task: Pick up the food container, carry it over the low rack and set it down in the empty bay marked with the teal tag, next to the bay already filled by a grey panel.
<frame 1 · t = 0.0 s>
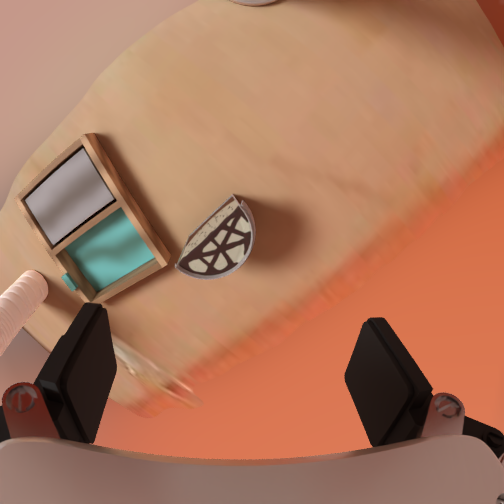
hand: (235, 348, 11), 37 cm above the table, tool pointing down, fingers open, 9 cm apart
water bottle: (34, 287, 49), on the table
rack: (91, 222, 46), on the table
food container: (224, 228, 48), on the table
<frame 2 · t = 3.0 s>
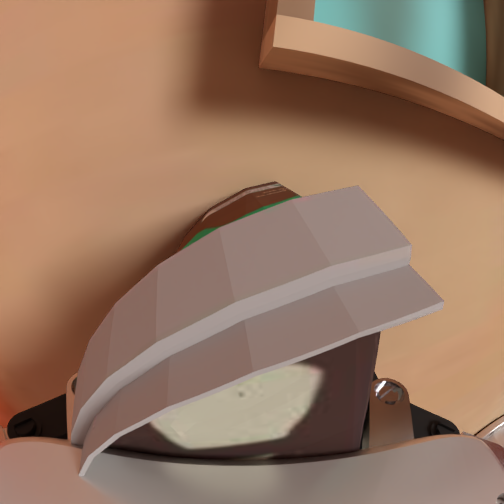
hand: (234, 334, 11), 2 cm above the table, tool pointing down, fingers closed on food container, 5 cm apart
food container: (216, 296, 14), on the table, touching gripper
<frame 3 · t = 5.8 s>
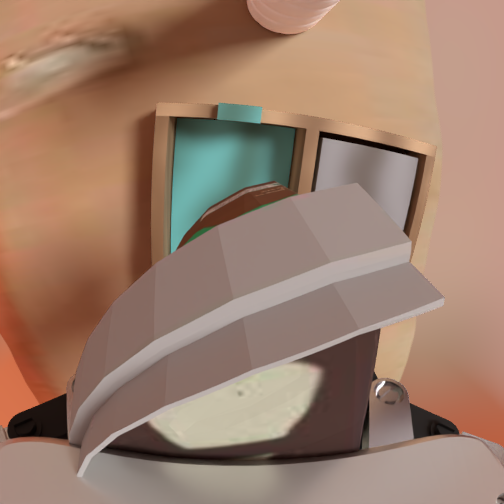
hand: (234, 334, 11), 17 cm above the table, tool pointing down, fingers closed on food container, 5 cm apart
rack: (290, 212, 28), on the table
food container: (215, 295, 14), point 15 cm above the table, touching gripper
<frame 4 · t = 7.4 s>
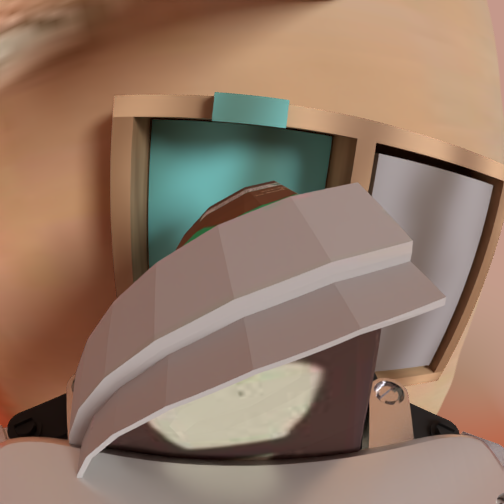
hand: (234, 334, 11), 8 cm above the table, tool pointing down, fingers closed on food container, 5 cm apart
rack: (320, 258, 19), on the table
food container: (215, 295, 14), point 5 cm above the table, touching gripper
when the fingers open (5 cm above the table, at t = 8.5 s): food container drops 2 cm, resting on rack.
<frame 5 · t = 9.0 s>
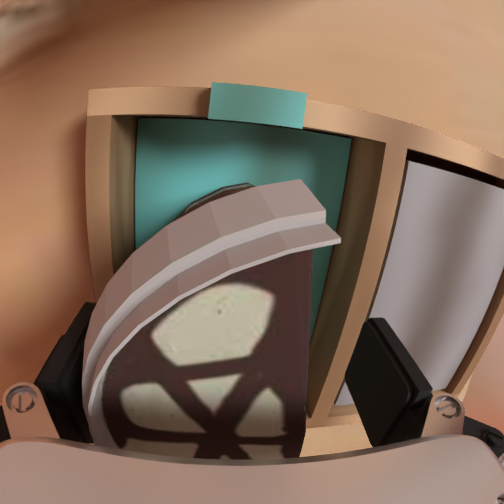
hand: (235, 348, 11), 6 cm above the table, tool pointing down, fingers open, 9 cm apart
rack: (334, 279, 17), on the table
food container: (192, 279, 16), resting on rack, touching gripper
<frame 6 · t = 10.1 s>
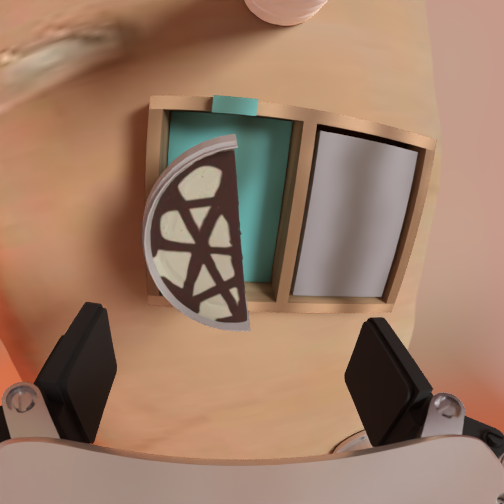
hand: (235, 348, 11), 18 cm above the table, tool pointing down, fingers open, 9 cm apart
rack: (287, 207, 27), on the table
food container: (200, 204, 26), resting on rack
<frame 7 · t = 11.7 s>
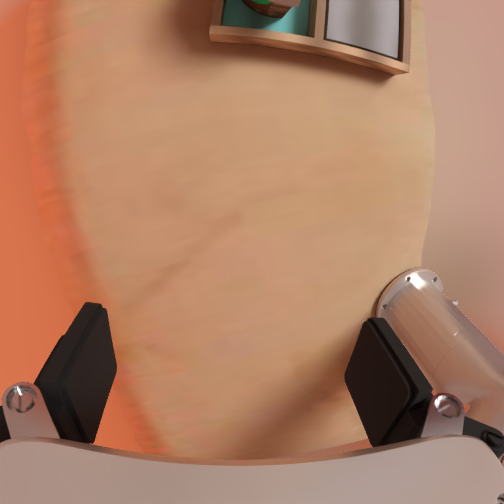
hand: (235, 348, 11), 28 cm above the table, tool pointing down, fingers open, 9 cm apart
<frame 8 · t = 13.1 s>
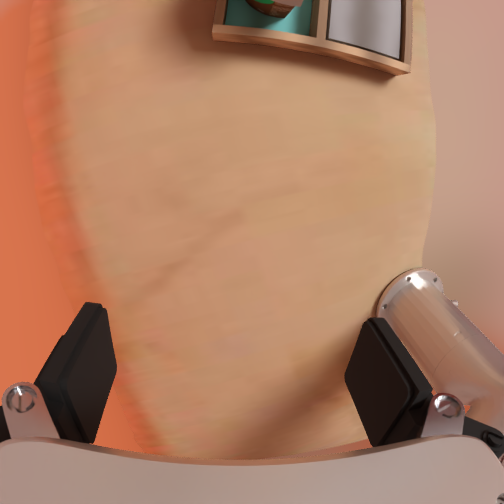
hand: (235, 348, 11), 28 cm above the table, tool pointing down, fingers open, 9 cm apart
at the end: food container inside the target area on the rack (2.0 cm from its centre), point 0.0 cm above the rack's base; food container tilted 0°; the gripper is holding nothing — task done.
